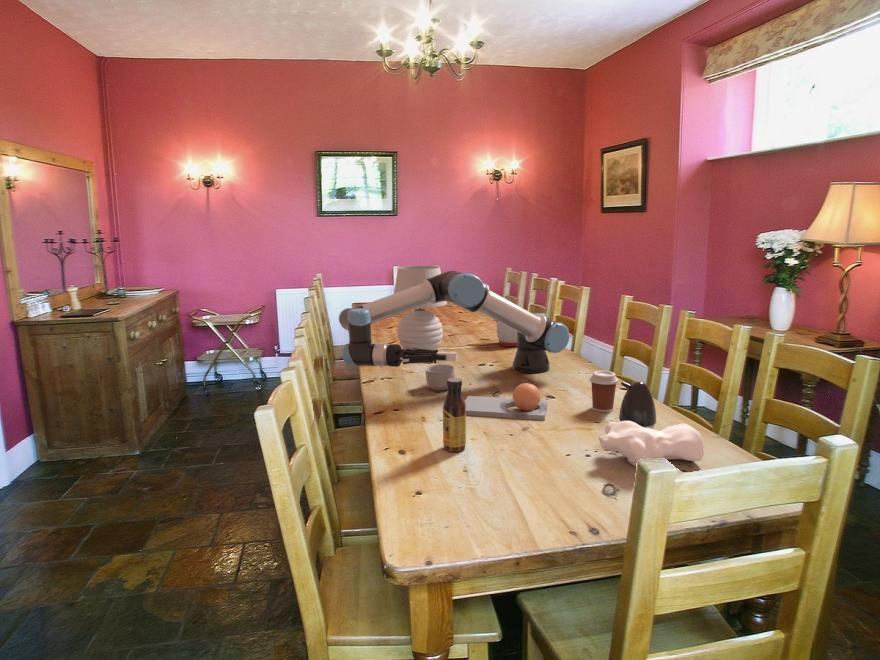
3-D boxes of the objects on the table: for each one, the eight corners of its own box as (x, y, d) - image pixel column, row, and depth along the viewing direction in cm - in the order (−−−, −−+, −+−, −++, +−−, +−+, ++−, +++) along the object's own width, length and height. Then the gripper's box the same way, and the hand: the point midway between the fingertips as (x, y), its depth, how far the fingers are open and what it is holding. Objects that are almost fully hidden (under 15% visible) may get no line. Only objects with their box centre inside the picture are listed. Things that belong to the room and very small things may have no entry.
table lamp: (457, 350, 272) (456, 266, 265) (428, 361, 251) (426, 270, 244) (414, 344, 286) (412, 264, 278) (383, 354, 265) (379, 268, 257)
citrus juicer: (493, 341, 291) (493, 302, 287) (527, 341, 289) (528, 302, 285) (491, 347, 276) (491, 307, 272) (528, 348, 273) (528, 307, 270)
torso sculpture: (669, 448, 157) (584, 447, 153) (675, 414, 155) (588, 412, 151) (709, 477, 140) (613, 477, 136) (715, 439, 138) (619, 438, 134)
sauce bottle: (442, 444, 159) (441, 376, 155) (464, 443, 159) (464, 375, 155) (444, 454, 152) (443, 382, 148) (467, 453, 153) (467, 381, 149)
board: (459, 414, 183) (459, 409, 183) (468, 400, 197) (468, 395, 197) (544, 420, 177) (544, 415, 176) (547, 404, 191) (547, 400, 191)
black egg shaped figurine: (625, 423, 173) (628, 374, 170) (660, 430, 166) (663, 380, 164) (612, 433, 165) (614, 382, 162) (648, 441, 159) (651, 389, 156)
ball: (527, 378, 190) (517, 402, 192) (513, 378, 183) (503, 404, 185) (549, 390, 185) (539, 414, 187) (536, 391, 178) (525, 416, 180)
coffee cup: (582, 406, 189) (583, 371, 186) (604, 402, 192) (606, 368, 190) (600, 415, 180) (601, 378, 178) (623, 411, 184) (625, 375, 182)
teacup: (451, 393, 205) (451, 371, 204) (422, 392, 207) (422, 370, 206) (458, 382, 219) (458, 362, 217) (430, 381, 221) (430, 361, 219)
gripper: (394, 361, 200) (460, 362, 194) (382, 371, 187) (452, 373, 182) (393, 340, 198) (460, 341, 192) (381, 349, 186) (451, 350, 180)
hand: (456, 356), depth 187 cm, fingers closed
